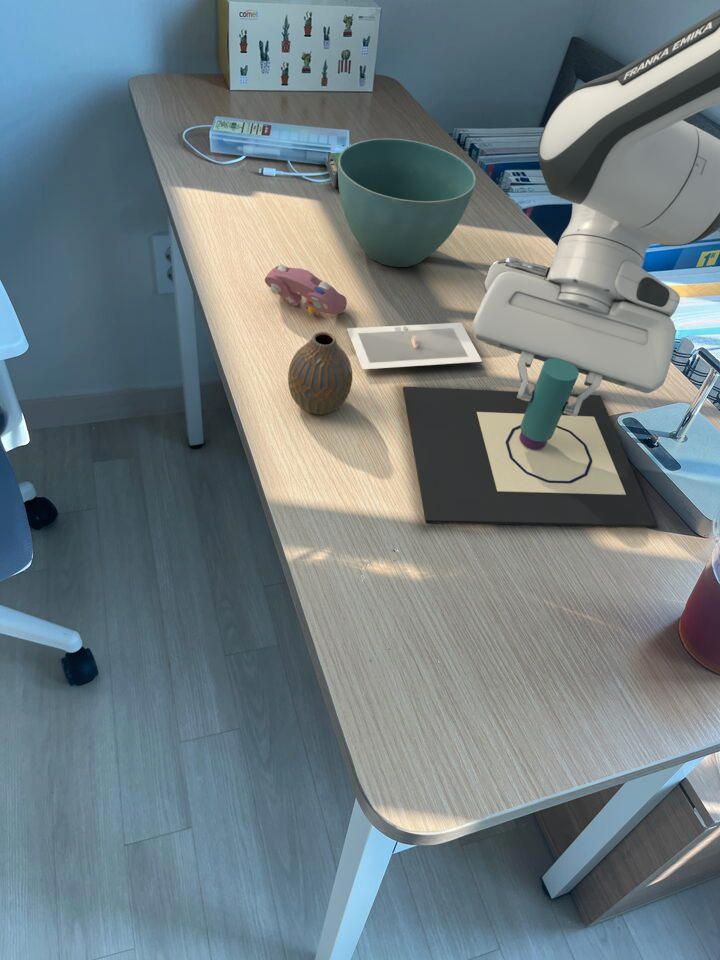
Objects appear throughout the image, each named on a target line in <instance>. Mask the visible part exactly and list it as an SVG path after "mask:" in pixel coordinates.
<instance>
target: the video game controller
mask: <svg viewBox="0 0 720 960" xmlns="http://www.w3.org/2000/svg"><path fill="white" fill-rule="evenodd" d="M264 282H265V284H266V285H267V287H268V288H269V290H270V291H271V292H272V293H273V294H276V295H278V296H279V297H281V298H282V299H283V300H284V302H286V304H288V305H290V306H292V307H296V306H298V305H299V303H300V302H301V301H302V298H305V302H304V303H303V308H304V309H305V310H306V311H307V312H308V313H309V314H311V315H314V316H319V315H320V314H321V313H323V314H324V313H325V314H331V315H340V314H343V313H344V312H345V311H346V308H347V304H348V301H347V297H346V296H344V294H341V293H340V292H338V291H337V290H336V288H335V287H334V286H332V285H330V284H329V283H328V282H326V281H324V280H322V279H320V278H318V276H316V275H315V274H313V272H311V271H309V270H308V269H305V268H299V267H289V266H287V265H285V264H283V263H280V264H279V265H276V266H275V267H273V268H272V269H271V270H270V271H269V272H268V273H267V275H265V277H264Z"/></svg>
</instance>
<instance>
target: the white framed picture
mask: <svg viewBox="0 0 720 960" xmlns="http://www.w3.org/2000/svg"><path fill="white" fill-rule="evenodd" d="M346 330H347V332H348V335H349V338H350V340H351V343H352V346H353V348H354V351H355V354H356V356H357V359H358V362H359V364H360V367H361V369H362V370H372V369H373V370H376V369H390V368H391V369H393V368H405V367H406V368H407V367H420V366H421V367H422V366H437V365H439V366H440V365H453V364H468V363H482V362H483V360H482V358H481V356H480V355H479V352H478V350H477V349H476V347H475V346H474V343H473V342H472V339H471V338H470V336H469V335H468V333H467V330H466V329H465V327H464V325H463V323H462V322H445V323H444V322H443V323H426V324H425V323H424V324H407V325H406V324H405V325H388V326H387V325H386V326H385V325H384V326H367V327H348V328H346Z"/></svg>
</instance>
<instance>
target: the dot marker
mask: <svg viewBox="0 0 720 960" xmlns="http://www.w3.org/2000/svg"><path fill="white" fill-rule="evenodd" d="M579 375H580V373H579V372H578V369H577V368H576V366H575V365H574V364H572V363H571V362H568V361H565V360H562V359H558V358H551V359H548V360H546V361H545V362H543V365H542V367H541V370H540V373H539V375H538V377H537V380H536V383H535V384H536V386H535V390H534V391H533V393H532V394H533V395H532V398H531V401H530V402H529V404H528V407H527V409H526V412H525V415H524V417H523V420H522V423H521V426H520V428H521V433H520V436H519V438H520V441H521V443H522V444H523V445H524V446H526V447H528V448H530V449H542V448H543V447H545V445H546V443H547V441H548V440H549V439H551V438H552V436H553V434H554V431H555V429H556V427H557V424H558V422H559V420H560V417H561V415H562V412H563V410H564V407H565V406H566V403H567V400H568V398H569V396H570V394H572V391H573V389H574V387H575V385H576V382H577V379H578V377H579Z"/></svg>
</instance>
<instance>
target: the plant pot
mask: <svg viewBox="0 0 720 960" xmlns="http://www.w3.org/2000/svg"><path fill="white" fill-rule="evenodd" d="M338 182H339V188H338V191H339V198H340V203H341V207H342V211H343V213H344V217H345V219H346V222H347V225H348V227H349V229H350V231H351V233H352V235H353V236H354V238H355V240H356V241H357V243H358V244H359V246H360V247H361V249H362V251H364V253H365V254H366V255H367V256H368V257H369V258H370V259H372V260H373V261H375V262H376V263H379V264H380V265H381V264H382V265H384V266H388V267H395V268H406V267H407V268H408V267H411V266H415V265H417V264H419V263H420V262H422V261H424V260H425V259H426V258H428V257H429V256H431V255H432V254H433V253H434V252H436V250H438V249H439V248H440V247H441V246H442V245H443V244H444V243H445V242H446V241H447V240H448V238H449V237H450V236H451V235H452V233H453V232H454V230H456V228H457V226H458V224H459V223H460V221H461V219H462V218H463V216H464V214H465V212H466V210H467V208H468V205H469V204H470V201H471V199H472V196H473V193H474V190H475V187H476V182H477V177H476V174H475V172H474V170H473V168H471V166H470V165H469V164H468V163H467V162H465V160H463V159H462V158H460V157H459V156H457V155H455V154H454V153H451V152H449V150H448V151H447V150H445V149H443V148H440V147H438V146H435V145H432V144H428V143H425V142H421V141H416V140H412V139H411V140H410V139H403V138H372V139H365V140H361V141H358V142H355V143H353V144H351V145H350V146H349V147H347V148H346V149H345V150H344V151H343V152H342V153H341V154H340V156H339V160H338Z"/></svg>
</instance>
